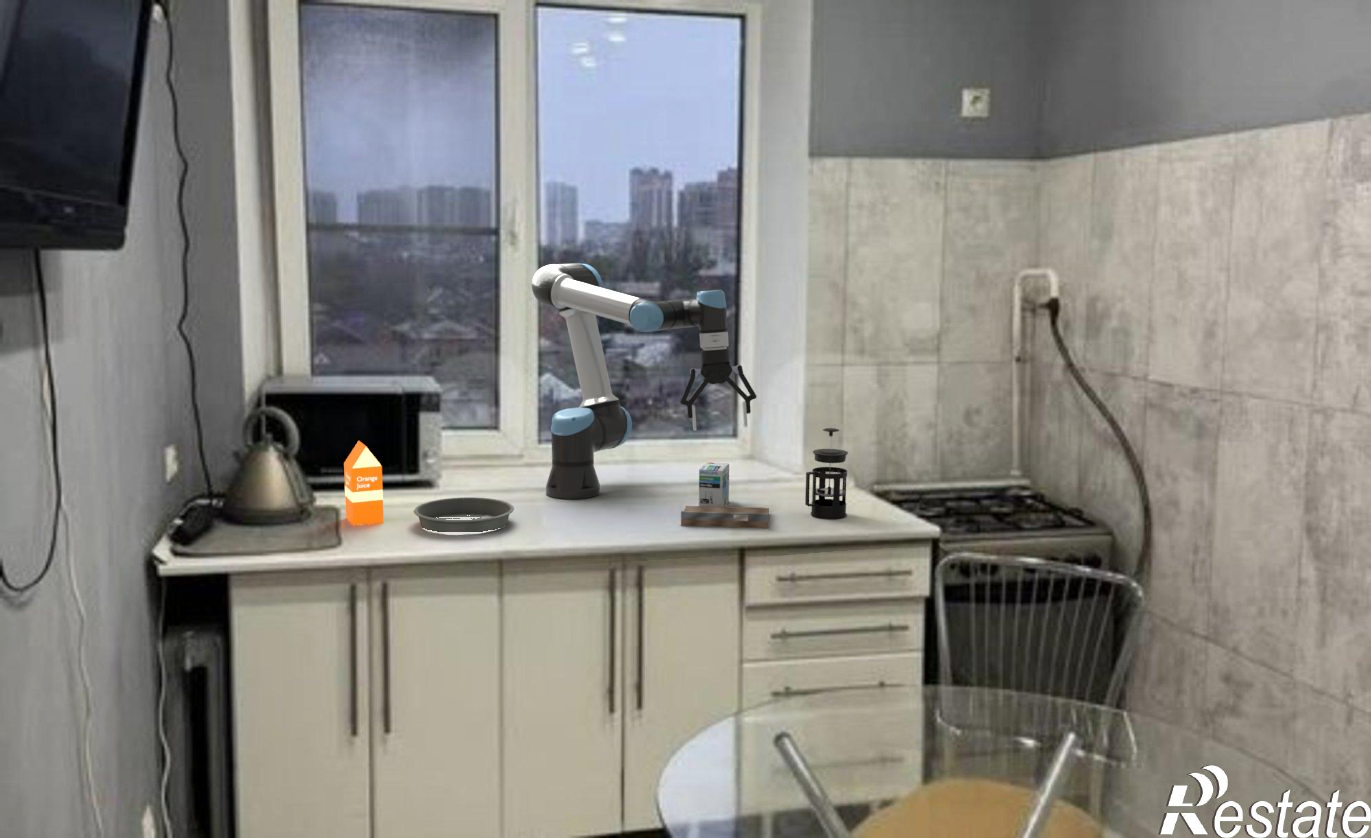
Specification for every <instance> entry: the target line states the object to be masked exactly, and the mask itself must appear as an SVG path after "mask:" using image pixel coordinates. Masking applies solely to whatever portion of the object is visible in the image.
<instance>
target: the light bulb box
mask: <svg viewBox="0 0 1371 838" xmlns="http://www.w3.org/2000/svg"><path fill="white" fill-rule="evenodd" d="M729 497H730V463H724V462H710V461H706V462H705V463H704V464H703V465H702V466H701V467H700V468H699V469H698V506H714V507H727V505H728V504H729V502H730V498H729Z"/></svg>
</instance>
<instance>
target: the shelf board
mask: <svg viewBox="0 0 1371 838" xmlns="http://www.w3.org/2000/svg"><path fill="white" fill-rule="evenodd" d="M769 525H770V507H746V506H745V507H743V506H742V507H741V506H740V507H739V506H725V507H714V506H699V505H685V506H684V510H681V511H680V526H683V527H685V526H686V527H687V526H688V527H715V528H718V527H719V528H749V529H750V528H751V529H752V528H753V529H769V527H770V526H769Z"/></svg>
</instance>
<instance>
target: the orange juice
mask: <svg viewBox="0 0 1371 838" xmlns="http://www.w3.org/2000/svg"><path fill="white" fill-rule="evenodd" d="M343 468H344V469H343V470H344V471H343V472H344V475H343V476H344V497H345V500H344V501H345V517H346V520H347V519H348V520H347V521H348V522H349V521H350V522H351V523H350V522H349V523H350V524H351V525H352V524H353V525H358V524H359V526H361V525H360V524H368V525H375V523H376V524H383V523H384V521H385V520H384V490H383V488H384V487H383V466H382V465H381V463H380V461H378V459H377V458H376V456H374V454H373V453H372V452H371V451H370V449H369V448H368V446H366V444H364V443H363V442H361V441H360V440H358V441H357V443H356V444H355V446H354V447H353V448H352V450H351V452H350V453H349V455H348V456H347V458H346V459H345V461H344V462H343ZM353 525H352V526H353Z"/></svg>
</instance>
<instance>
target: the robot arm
mask: <svg viewBox="0 0 1371 838" xmlns="http://www.w3.org/2000/svg"><path fill="white" fill-rule="evenodd" d="M531 290H532V293H533V295H534V297H535V299H536V300H537V301H538V302H539V303H541V304H543V305H546V306H549V307H553V308H556V309H557V310H558V314H559V316H562V317H563V318H564V319H565V322H566V327H567V330H568V331H567V332H568V336H569V340H570V341H569V342H570V344H571V345H570V346H571V350H572V355H573V359H574V364H575V367H576V368H575V369H576V373H577V378H578V382H579V386H580V387H579V388H580V392H581V396H582V402H581V403H580V405H579V406H578V407H571V408H569V407H568V408H564V409H560V410H559V411H556V412H555V413H554V414H553V415H552V418H551V427H550V432H551V433H550V434H551V469H550V472H549V475H548V478H547V482H546V484H545V494H546V493H547V494H546V495H547V496H548V497H551V498H555V499H565V500H566V499H567V500H569V499H570V500H579V499H589V498H592V497H593V498H594V497H595V496H598V495H600V494H601V485H600V484H601V483H600V480H599V478H598V475H597V472H596V469H595V459H594V458H595V457H594V456H595V453H596V452H600V451H606V450H612V449H615V448H616V447H620V446H621V445H623V444H625V443H626V442H627V441H628V439H629V437H630V435H631V433H632V428H633V423H632V417H631V415H630V413H629V411H628V410H626V408H624V407H623V406H621V404H620V399H619V397H617V396H615V395H614V394H613V392H612V386H611V381H610V378H609V373H608V368H607V364H606V359H605V354H604V349H603V344H602V340H601V335H600V331H599V325H598V321H597V316H598V317H602V318H605V319H609V320H612V321H615V322H619V323H623V324H627V325H630V326H632V327H633V328H634V329H635V330H636V331H638V332H641V333H642V332H643V333H652V332H658V331H666V330H674V329H684V328H685V329H687V328H698V330H699V346H700V348H701V349H702V350H701V351H700V358H701V367H700V368H693V367H692V368H690V371H689V378H688V381H687V383H686V385H685V388H684V390H683V393H682V396H681V398H680V401H679V402H680V404H681V405H684V406H686V407H687V417H688V418H689V419H692V429H693V431H697V417H696V406H695V405H694V402H696V400H697V398H699V397H700V395H701V393H702V392H703V390H705V387H707V385H708V384H710V385H716V384H720V385H722V384H725V383H728V385H729V386H731V387H732V388H733V389H734V391H735V392H736V393H737V394H739V396H740V397H741V398H743V400H744V401H742V402H741V404H742V405H741V407H742V422H743V427H745V428H746V427H748V415H749V414H751V411H752V410H751V401H753V400H755V399H757V394H756V392H755V391H754V389H753V388H752V386H751V383H750V382H749V381H748V379H747V377H746V375H745V374H744V371H743V366H742V365H741V364H737V365H734V366H732V365H731V361H730V349H729V348H727V347H729V346H730V345H729V333H728V332H729V330H728V321H727V320H728V317H727V316H728V314H727V313H728V312H727V308H728V306H727V301H726V295H725V292H724V290H722V289H714V290H701V291H700V290H699V291H697V292H696V298H693V299H692V298H691V299H670V300H662V301H652V300H648V299H645V298H641V297H637V296H633V295H631V294H626V293H623V292H619V291H616V290H612V289H609V288H604V286H603V280H602V278H601V275H600V273H599V272H598V270H597V269H596V268H594V267H592V265H590V264H587V263H580V262H573V263H558V264H556V263H552V264H551V263H550V264H547V265H545V266H542V267H540V268H539V269H538V270H537V271H536V272H535V273H534V276H533V277H532V281H531ZM732 372H734V373H735V374H736V375H738V377H739V378H740V380H741V382H742V384H743V385H744V387H745V389H746V390H747V392H748V394H749V395H747V394H746V393H745V392H744V391H743V390H742V389H741V388H740V387H739V385H737V384H736V382H734V380H733V379H732V378H730V376H731V374H732ZM699 374H700V375H701V376H702V377H703V379H702V381H701V382H700V384H698V387H697V388H696V390H695V391H694V392H693V393H692V395H691V396H690V397H689V399H688V396H689V394H690V392H691V389H692V387H693V385H694V382H695V379H696V378H697V377H699ZM687 399H688V400H687ZM747 414H748V415H747Z"/></svg>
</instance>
